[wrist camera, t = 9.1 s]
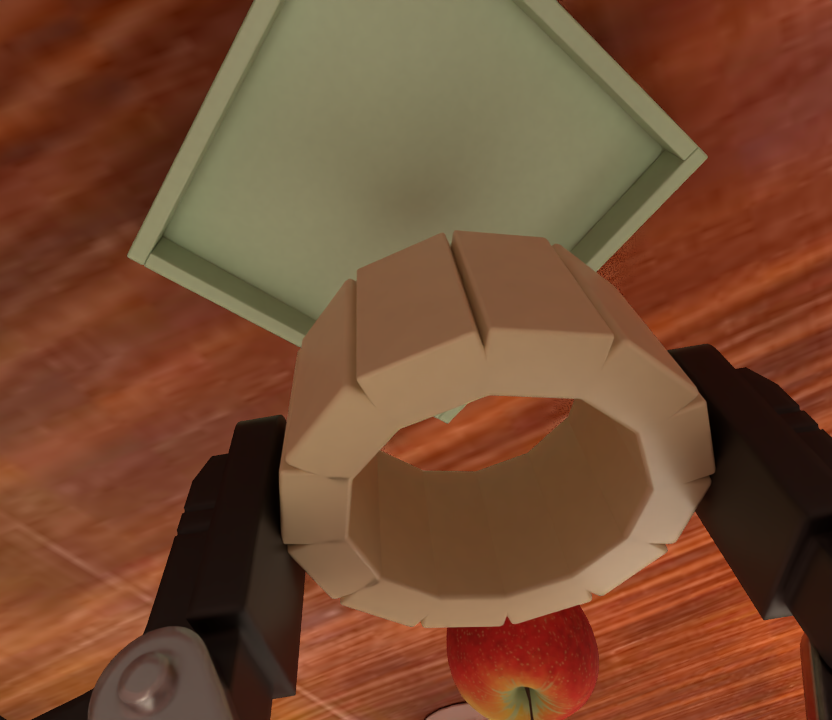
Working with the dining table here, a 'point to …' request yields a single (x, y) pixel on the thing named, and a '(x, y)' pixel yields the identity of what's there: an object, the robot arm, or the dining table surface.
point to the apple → (526, 666)
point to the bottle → (457, 713)
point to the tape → (502, 483)
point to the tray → (402, 149)
